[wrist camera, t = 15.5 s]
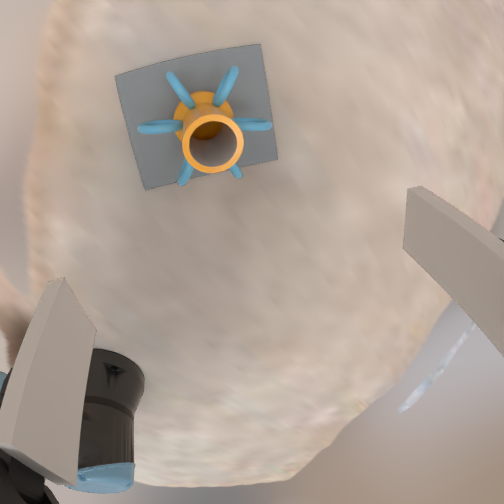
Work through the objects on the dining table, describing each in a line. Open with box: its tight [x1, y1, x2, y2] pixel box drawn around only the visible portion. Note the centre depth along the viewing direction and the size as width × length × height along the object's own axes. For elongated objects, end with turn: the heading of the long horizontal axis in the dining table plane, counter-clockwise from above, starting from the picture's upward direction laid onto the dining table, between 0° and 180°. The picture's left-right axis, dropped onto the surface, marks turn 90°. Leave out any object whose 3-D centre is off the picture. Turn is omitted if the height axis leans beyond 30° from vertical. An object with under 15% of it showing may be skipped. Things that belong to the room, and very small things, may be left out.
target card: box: [115, 44, 278, 191], centre depth 32 cm, size 16×14×1 cm
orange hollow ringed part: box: [137, 66, 272, 186], centre depth 26 cm, size 12×10×15 cm
